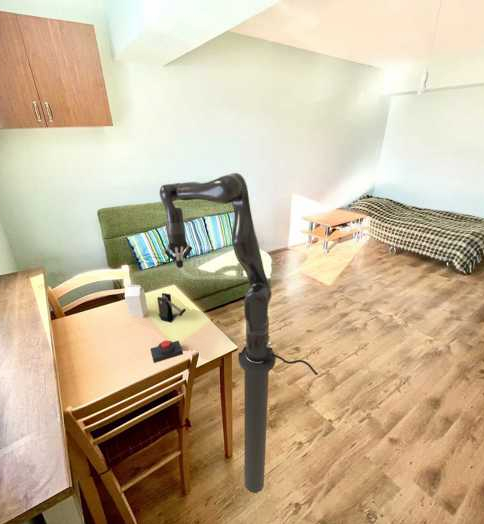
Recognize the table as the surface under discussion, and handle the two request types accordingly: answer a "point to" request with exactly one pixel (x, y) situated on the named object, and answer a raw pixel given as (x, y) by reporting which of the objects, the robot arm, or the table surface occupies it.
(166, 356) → the control block
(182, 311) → the lever
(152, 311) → the table surface
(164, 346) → the button
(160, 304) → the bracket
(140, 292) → the milk carton
